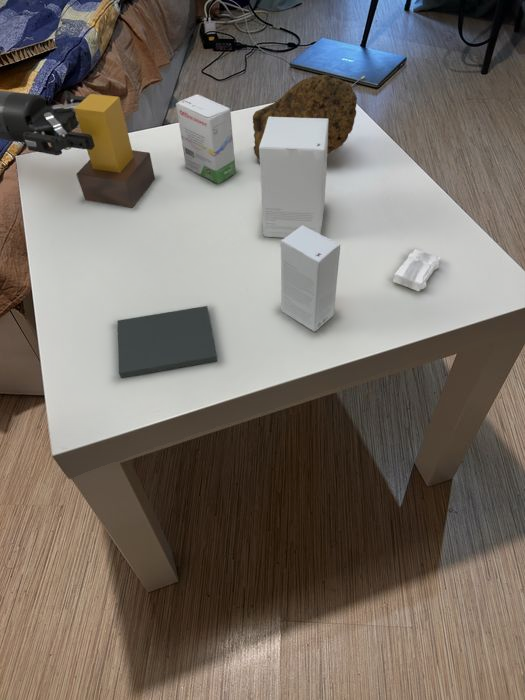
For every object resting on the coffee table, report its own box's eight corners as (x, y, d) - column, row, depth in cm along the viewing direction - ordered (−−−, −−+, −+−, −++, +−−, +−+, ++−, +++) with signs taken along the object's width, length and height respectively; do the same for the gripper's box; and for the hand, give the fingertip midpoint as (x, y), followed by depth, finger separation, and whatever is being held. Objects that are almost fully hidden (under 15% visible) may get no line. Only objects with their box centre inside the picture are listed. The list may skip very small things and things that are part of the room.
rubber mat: (120, 378, 64) (118, 373, 64) (119, 325, 70) (117, 320, 69) (217, 361, 66) (216, 356, 65) (207, 310, 71) (207, 305, 70)
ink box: (237, 173, 93) (232, 107, 84) (217, 185, 90) (209, 118, 81) (204, 156, 96) (196, 91, 87) (184, 167, 94) (173, 102, 85)
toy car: (388, 284, 73) (391, 272, 72) (411, 252, 77) (414, 240, 76) (420, 296, 72) (423, 284, 70) (442, 263, 76) (445, 251, 74)
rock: (295, 176, 104) (384, 119, 92) (271, 191, 95) (366, 131, 83) (261, 114, 101) (348, 47, 89) (232, 124, 92) (325, 51, 80)
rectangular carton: (324, 206, 85) (331, 116, 74) (320, 241, 80) (326, 149, 68) (269, 203, 87) (267, 114, 75) (261, 237, 81) (257, 146, 69)
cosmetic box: (334, 315, 70) (342, 244, 61) (314, 333, 68) (319, 262, 59) (300, 294, 73) (302, 223, 63) (279, 311, 71) (279, 240, 61)
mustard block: (92, 168, 86) (74, 108, 78) (107, 153, 89) (90, 93, 81) (120, 173, 85) (103, 112, 77) (133, 157, 88) (119, 96, 80)
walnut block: (84, 200, 89) (75, 173, 85) (109, 171, 94) (102, 145, 90) (132, 208, 87) (125, 181, 83) (155, 178, 92) (149, 152, 88)
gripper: (48, 119, 93) (131, 129, 89) (0, 161, 84) (90, 174, 81) (33, 75, 87) (120, 84, 84) (-20, 115, 78) (75, 127, 75)
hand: (105, 128), depth 82 cm, fingers open, 8 cm apart
